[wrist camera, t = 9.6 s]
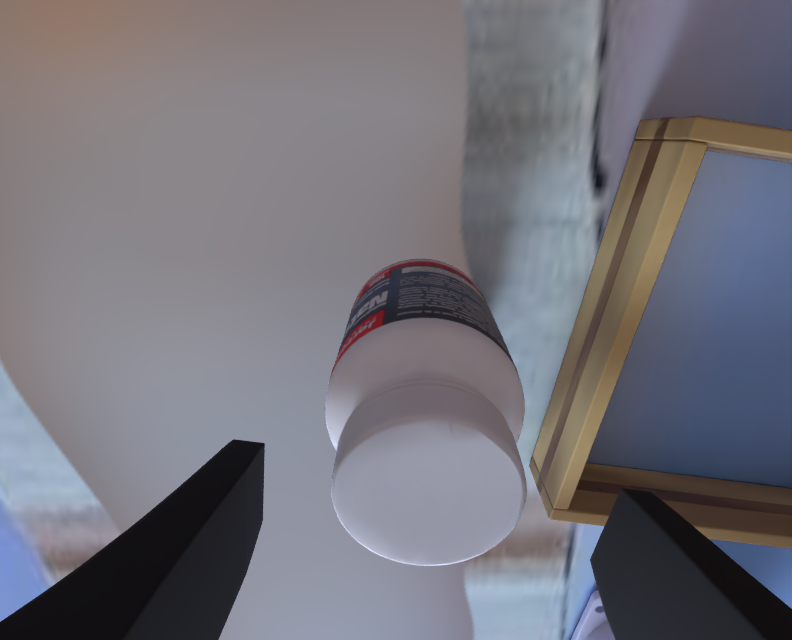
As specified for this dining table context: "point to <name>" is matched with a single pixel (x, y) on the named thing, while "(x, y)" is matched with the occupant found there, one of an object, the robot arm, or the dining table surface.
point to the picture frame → (614, 332)
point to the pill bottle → (425, 419)
